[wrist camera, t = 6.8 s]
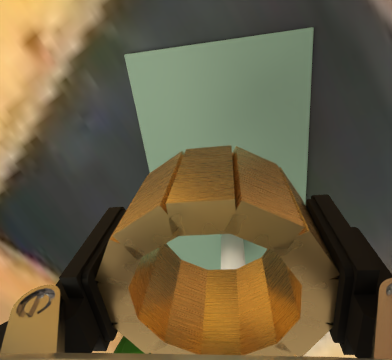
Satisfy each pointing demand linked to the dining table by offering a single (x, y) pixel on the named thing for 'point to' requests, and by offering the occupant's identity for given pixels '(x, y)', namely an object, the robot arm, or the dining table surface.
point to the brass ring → (225, 278)
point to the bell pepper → (127, 347)
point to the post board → (227, 115)
